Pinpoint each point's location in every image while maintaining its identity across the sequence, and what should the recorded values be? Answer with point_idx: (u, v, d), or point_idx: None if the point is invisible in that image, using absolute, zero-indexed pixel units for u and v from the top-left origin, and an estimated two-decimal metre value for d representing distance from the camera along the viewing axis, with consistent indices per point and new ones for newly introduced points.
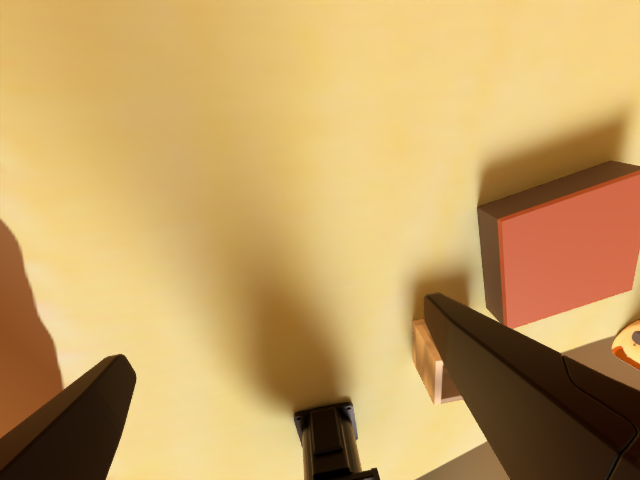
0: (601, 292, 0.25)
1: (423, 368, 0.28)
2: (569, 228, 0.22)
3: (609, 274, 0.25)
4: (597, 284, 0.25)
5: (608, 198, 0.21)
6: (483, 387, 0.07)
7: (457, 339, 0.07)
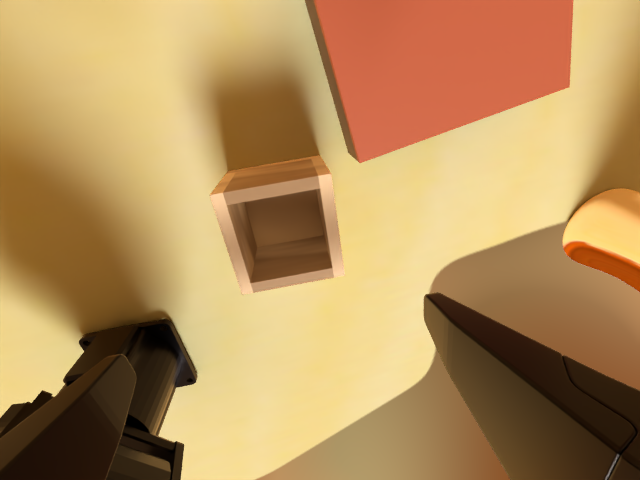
0: (515, 88, 0.15)
1: None
2: None
3: (524, 44, 0.14)
4: (505, 67, 0.14)
5: None
6: (483, 387, 0.07)
7: (457, 339, 0.07)
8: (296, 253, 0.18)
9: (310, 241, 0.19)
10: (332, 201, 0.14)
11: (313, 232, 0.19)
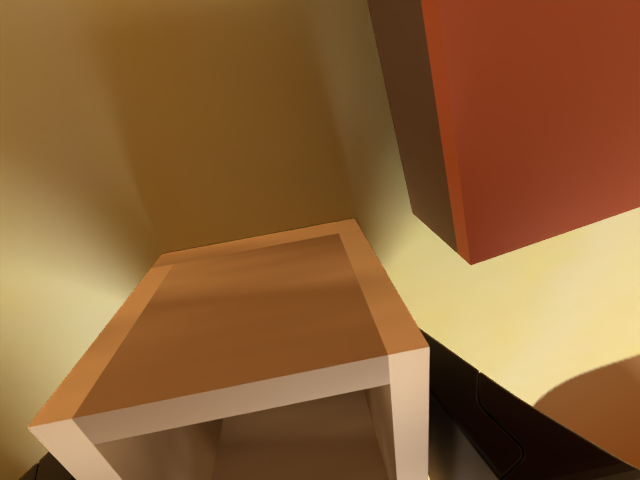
0: None
1: None
2: None
3: None
4: None
5: None
6: None
7: None
8: (306, 429, 0.08)
9: None
10: (421, 408, 0.05)
11: None
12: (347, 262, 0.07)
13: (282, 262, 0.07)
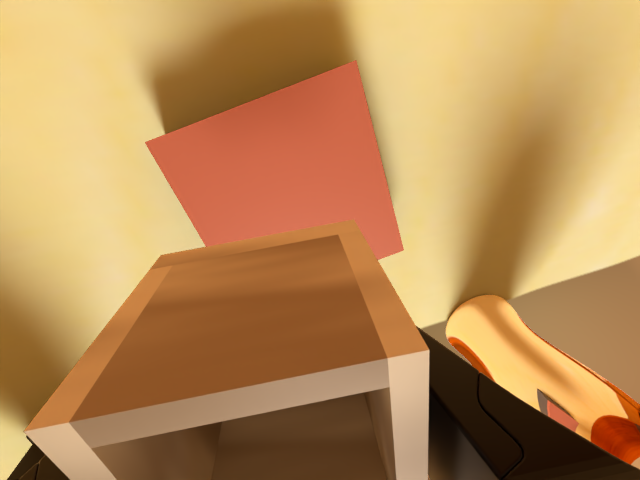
0: None
1: None
2: (262, 155, 0.16)
3: (359, 227, 0.18)
4: None
5: (302, 107, 0.15)
6: None
7: None
8: (306, 431, 0.08)
9: None
10: (421, 411, 0.05)
11: None
12: (346, 263, 0.07)
13: (281, 263, 0.07)
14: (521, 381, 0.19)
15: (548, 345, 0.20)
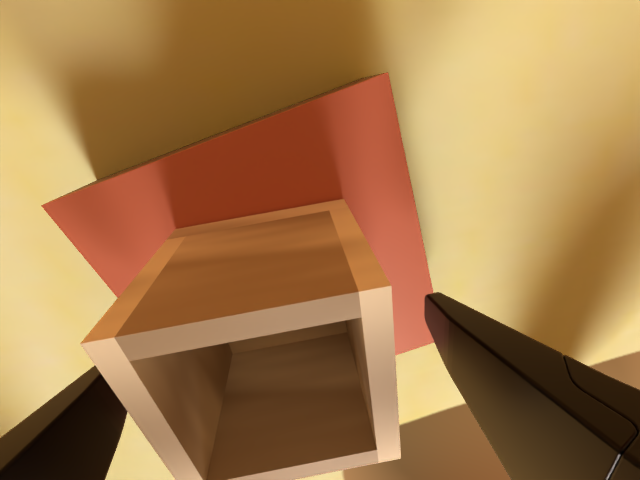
0: None
1: None
2: None
3: None
4: None
5: (297, 148, 0.09)
6: (484, 387, 0.07)
7: (458, 339, 0.07)
8: (301, 383, 0.10)
9: (325, 348, 0.11)
10: (388, 340, 0.06)
11: (329, 328, 0.11)
12: (334, 231, 0.08)
13: (279, 232, 0.08)
14: None
15: None
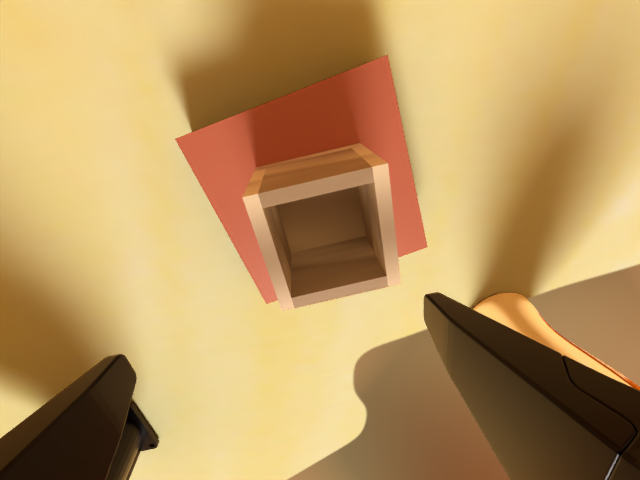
0: None
1: None
2: (290, 151, 0.16)
3: None
4: None
5: (331, 103, 0.15)
6: (483, 387, 0.07)
7: (457, 339, 0.07)
8: (338, 259, 0.16)
9: (352, 243, 0.17)
10: (388, 197, 0.12)
11: (354, 233, 0.17)
12: (356, 154, 0.14)
13: (324, 159, 0.14)
14: None
15: (571, 345, 0.20)
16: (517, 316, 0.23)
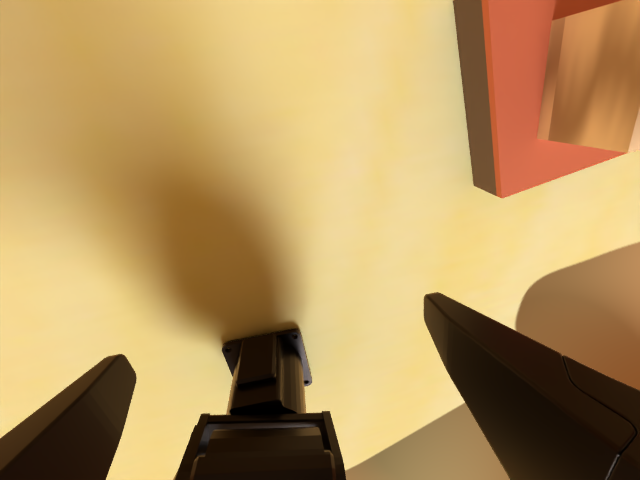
0: None
1: (586, 100, 0.14)
2: (592, 4, 0.14)
3: None
4: None
5: None
6: (483, 387, 0.07)
7: (457, 339, 0.07)
8: None
9: None
10: None
11: None
12: None
13: None
14: None
15: None
16: None
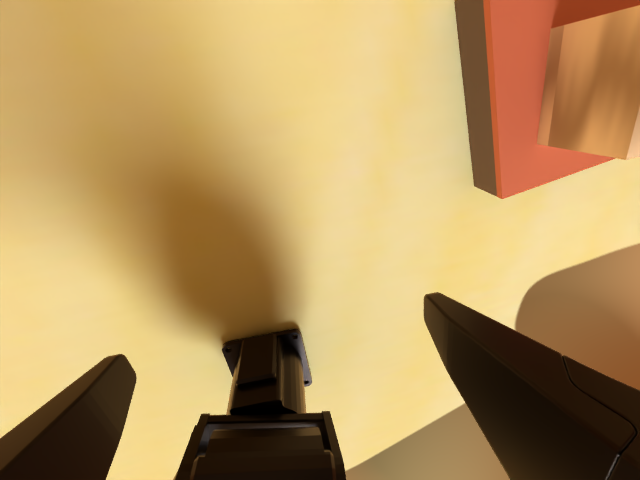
0: None
1: (585, 107, 0.14)
2: (593, 6, 0.15)
3: None
4: None
5: None
6: (483, 387, 0.07)
7: (457, 339, 0.07)
8: None
9: None
10: None
11: None
12: None
13: None
14: None
15: None
16: None
